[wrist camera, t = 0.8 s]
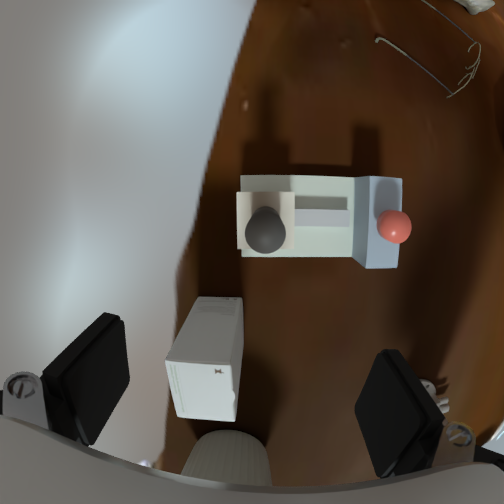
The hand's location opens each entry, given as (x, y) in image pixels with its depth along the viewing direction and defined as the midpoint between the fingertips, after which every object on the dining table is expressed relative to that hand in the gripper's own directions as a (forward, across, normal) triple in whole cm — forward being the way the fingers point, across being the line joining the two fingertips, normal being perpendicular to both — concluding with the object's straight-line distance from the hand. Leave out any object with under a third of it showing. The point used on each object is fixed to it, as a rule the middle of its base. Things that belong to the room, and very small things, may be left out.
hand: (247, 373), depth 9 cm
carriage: (+26, -1, -2) cm, 26 cm away
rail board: (+28, -7, -3) cm, 29 cm away
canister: (+27, -1, +41) cm, 49 cm away
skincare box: (+28, +3, +13) cm, 31 cm away
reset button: (+19, -13, -4) cm, 24 cm away
